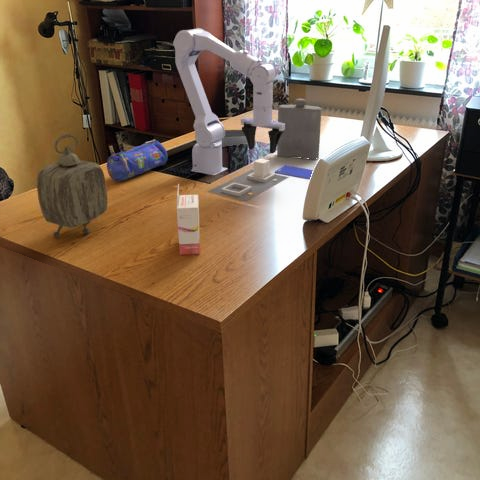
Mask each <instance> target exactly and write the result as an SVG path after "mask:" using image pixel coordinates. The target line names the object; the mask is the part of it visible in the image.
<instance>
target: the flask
mask: <svg viewBox="0 0 480 480" xmlns="http://www.w3.org/2000/svg"><path fill="white" fill-rule="evenodd" d="M306 102H307V101H306V99H304V98H296V99H295V100H294V104H280V105H278V107H277V122H280V123H285V130H284V131H283V133H282V135H281V137H280V139H279V141H278V144H277V147H276V152H277V153H276V155H277V156H278V157H279V158H291V157H301V158H300V159H303V158H309V159H315V160H317V159H316V158H318V159H319V157H320V140H321V123H322V107H320V106H316V105H306ZM309 159H308V160H309Z"/></svg>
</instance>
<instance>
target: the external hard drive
mask: <svg viewBox="0 0 480 480" xmlns="http://www.w3.org/2000/svg"><path fill="white" fill-rule="evenodd" d="M240 144H248V142H247V139H246V136H245V134H244V132H243V131H242V129H225V136H224V138H223V139H222V147H225V146H233V145H240Z"/></svg>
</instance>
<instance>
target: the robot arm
mask: <svg viewBox="0 0 480 480" xmlns="http://www.w3.org/2000/svg"><path fill="white" fill-rule="evenodd" d="M172 44H173V47H174V50H175V52H174V54H175V59H174V60H175V66H176V69H177V71H178V73H179V76H180V79H181V82H182V84H183V87H184V89H185V93H186V96H187V99H188V100H189V103H190V105H191V109H192V112H193V114H194V116H195V120H194V122H193V129H194V138H195V142H196V143H195V144H194V145H193V147H192V150H191V151H192V152H191V157H192V158H191V160H192V169H191V172H193V173H200V174H201V173H202V174H205V175H210V176H215V175H218V174H220V173H222V172H225V171H226V170H228V168H227V167H223V148H222V139H223V138H224V136H225V130H226V129H225V126H224V125H223V123H222V122H221V121H220V120H219V117H218V115H216V114H215V113H214V112H212V109H211V106H210V104H209V100H208V98H207V95H206V92H205V89H204V86H203V84H202V81H201V78H200V76H199V73H198V71H197V70H198V69H197V67H196V64H195V63H196V61H197V59H198V57H199V56H200V54H201V53H202V52H203V51H209V52H211V53H213V54H215V55H216V56H219V57H221V59H224V60H226V61H229V62H230V66H231V68H232V69H234V70H235V71H236V72H238V73H240V74H242V75H243V76H244V77H247V78H248V79H249V80H250V82H251V83H252V85H253V88H252V89H253V93H252V94H253V99H252V106H253V107H252V108H253V109H252V113H253V116H252V117H246V116H245V117H241V118H240V125H242V127H241V130H242V131H243V132H244V134H245V136H246V139H247V142H248V146H247V147H248V149H249V150H253V149H255V145H256V133H257V128H263V129H271V130H268V131H267V134H268V138H269V154H274V153H276V152H277V144H278V141H279V139H280V137H281V135H282V133H283V131H284V130H285V123H280V122H278V120H273V102H274V101H273V100H274V99H273V95H274V93H273V91H274V90H273V89H274V87H273V86H274V80H275V79H276V77H277V70H276V68H275V66H274V65H273V64H271V62H267V61H265V62H263V60H262V59H261V58H256V57H254V56H252V55H251V54H250V51H248V50H247V49H244V50H242V49H240V50H237V51H236V50H235V49H234V48H232V47H230V46H229V45H227V44H225V43H224V42H222V41H221V39H220V40H219V38H217V37H215V36H214V35H212V33H210V32H209V31H206V30H204V28H200V27H196V28H193V29H183V30H179V31H178V32H177V33H176V34H175V38H174V40H173V43H172Z"/></svg>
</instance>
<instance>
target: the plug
mask: <svg viewBox="0 0 480 480" xmlns="http://www.w3.org/2000/svg"><path fill="white" fill-rule="evenodd" d="M270 165H271V160H269V159H264V158H258V159H256V160H253V170H254V176H256V177H261V178H266V177H268V176H269V175H270V170H271V168H270Z"/></svg>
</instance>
